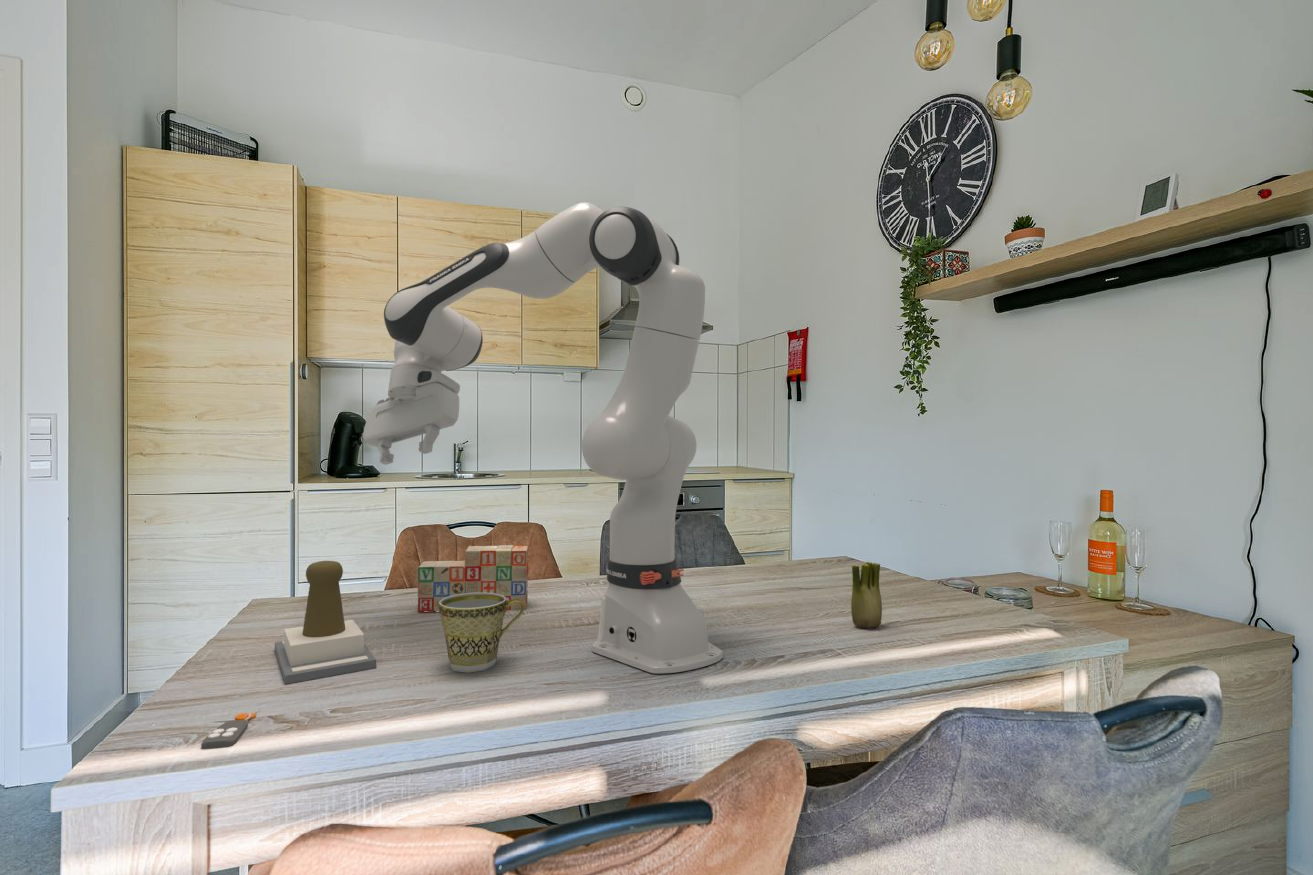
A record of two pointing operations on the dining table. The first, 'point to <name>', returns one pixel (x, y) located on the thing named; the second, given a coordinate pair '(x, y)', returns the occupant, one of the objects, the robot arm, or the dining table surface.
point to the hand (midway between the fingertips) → (405, 457)
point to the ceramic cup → (474, 628)
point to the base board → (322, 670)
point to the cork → (324, 600)
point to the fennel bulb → (866, 596)
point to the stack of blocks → (476, 576)
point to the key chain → (228, 732)
